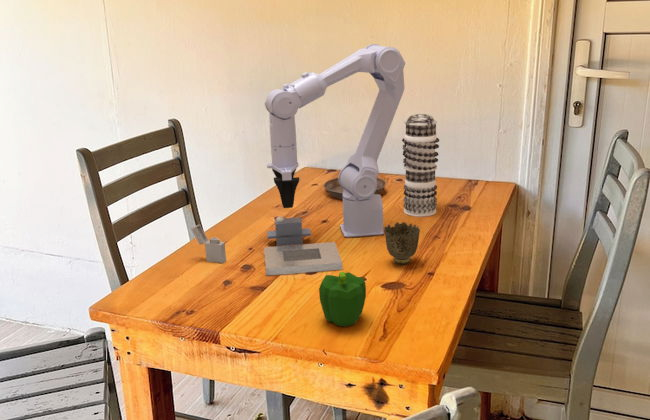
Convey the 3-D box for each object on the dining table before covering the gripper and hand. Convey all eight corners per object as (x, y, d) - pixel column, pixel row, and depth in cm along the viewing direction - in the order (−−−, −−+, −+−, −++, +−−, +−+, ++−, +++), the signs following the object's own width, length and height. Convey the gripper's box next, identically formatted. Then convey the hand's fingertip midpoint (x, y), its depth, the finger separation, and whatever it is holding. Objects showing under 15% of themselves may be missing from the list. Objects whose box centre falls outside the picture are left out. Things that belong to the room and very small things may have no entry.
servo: (310, 238, 161) (308, 213, 159) (311, 243, 158) (310, 218, 156) (267, 241, 160) (266, 216, 158) (268, 247, 157) (266, 221, 155)
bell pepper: (327, 307, 127) (325, 257, 124) (370, 311, 124) (369, 261, 121) (313, 328, 119) (311, 276, 116) (359, 333, 117) (358, 280, 114)
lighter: (226, 260, 150) (223, 226, 147) (222, 263, 149) (219, 228, 146) (198, 256, 152) (194, 223, 150) (194, 259, 151) (190, 226, 148)
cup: (396, 272, 140) (396, 236, 138) (378, 260, 147) (377, 226, 144) (426, 265, 143) (427, 229, 141) (406, 253, 150) (406, 219, 147)
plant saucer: (314, 190, 198) (313, 180, 197) (367, 181, 205) (367, 171, 204) (340, 207, 183) (340, 196, 182) (397, 196, 190) (397, 186, 189)
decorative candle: (434, 218, 171) (436, 120, 163) (398, 215, 174) (398, 119, 166) (440, 207, 179) (442, 113, 171) (406, 204, 182) (406, 112, 174)
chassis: (335, 248, 154) (334, 242, 154) (342, 269, 143) (342, 262, 142) (264, 254, 153) (264, 247, 152) (266, 275, 141) (265, 268, 141)
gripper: (264, 138, 158) (268, 194, 162) (266, 153, 144) (270, 213, 148) (294, 136, 158) (297, 192, 163) (299, 151, 145) (302, 211, 149)
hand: (287, 202), depth 156 cm, fingers open, 7 cm apart
